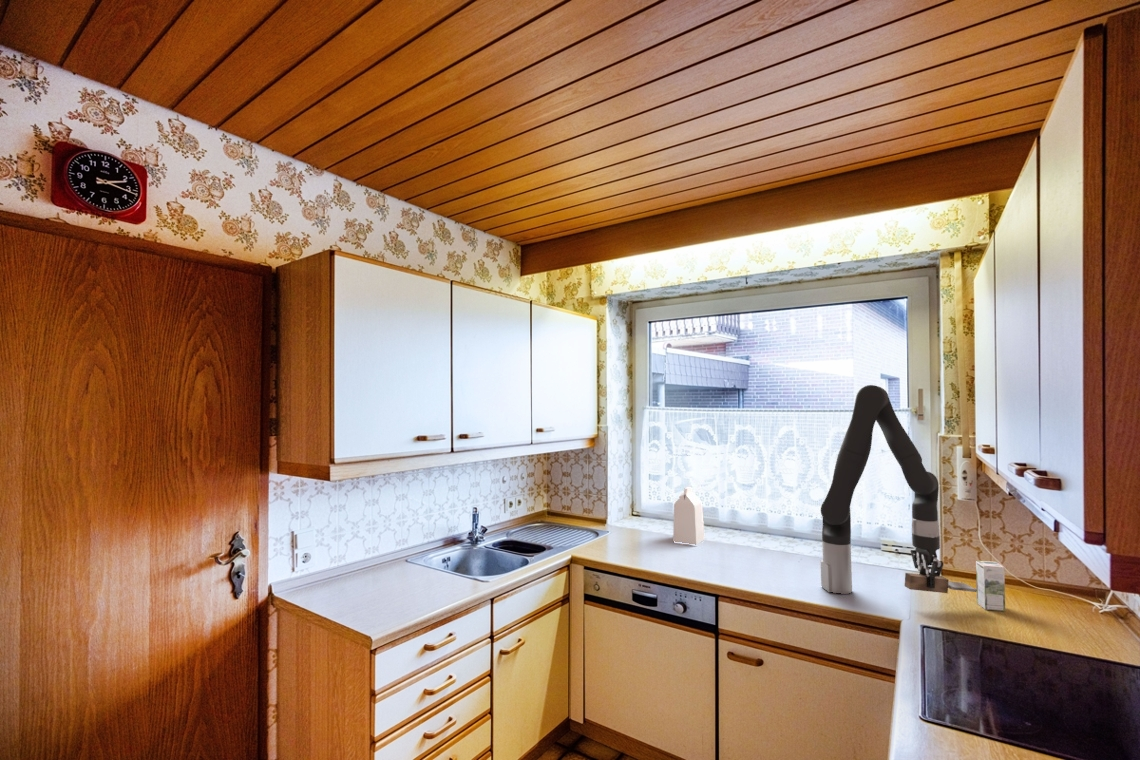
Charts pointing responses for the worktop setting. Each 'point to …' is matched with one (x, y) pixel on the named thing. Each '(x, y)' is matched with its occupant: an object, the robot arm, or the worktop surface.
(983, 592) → the syrup box
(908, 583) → the turner
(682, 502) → the milk
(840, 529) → the robot arm
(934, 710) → the worktop surface
